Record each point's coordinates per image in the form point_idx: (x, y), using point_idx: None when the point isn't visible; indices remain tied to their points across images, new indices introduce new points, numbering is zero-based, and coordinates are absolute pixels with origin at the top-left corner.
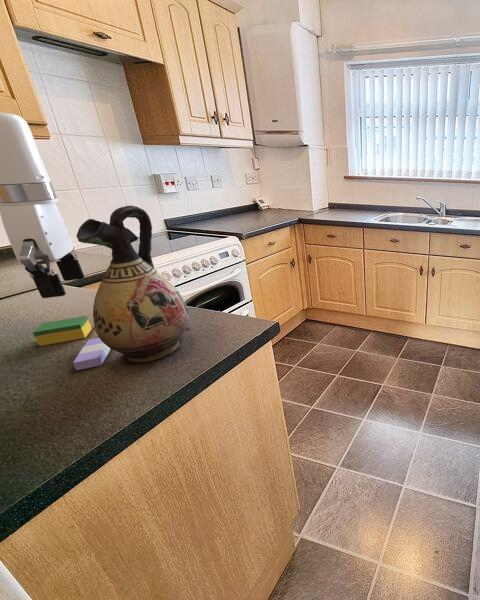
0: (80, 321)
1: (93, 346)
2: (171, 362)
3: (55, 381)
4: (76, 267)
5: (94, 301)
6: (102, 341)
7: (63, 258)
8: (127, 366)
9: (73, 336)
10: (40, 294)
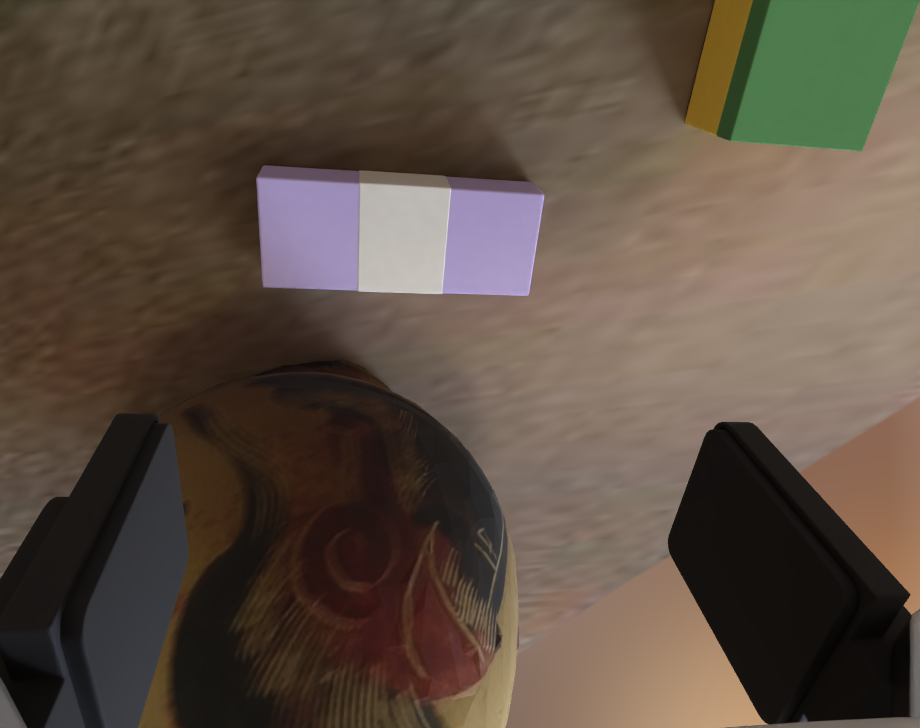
0: (783, 134)
1: (423, 239)
2: None
3: (180, 88)
4: (732, 639)
5: (203, 603)
6: (176, 408)
7: (863, 699)
8: (205, 373)
9: (708, 71)
10: (107, 435)
